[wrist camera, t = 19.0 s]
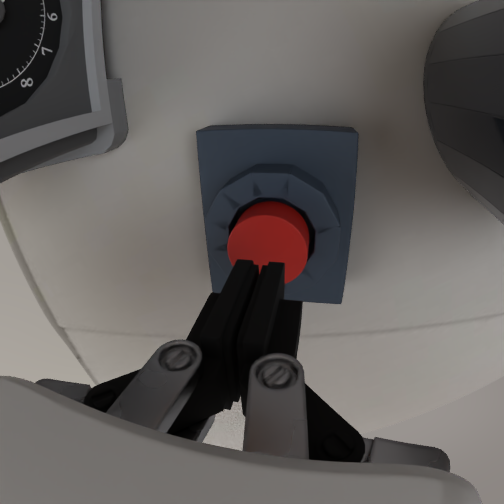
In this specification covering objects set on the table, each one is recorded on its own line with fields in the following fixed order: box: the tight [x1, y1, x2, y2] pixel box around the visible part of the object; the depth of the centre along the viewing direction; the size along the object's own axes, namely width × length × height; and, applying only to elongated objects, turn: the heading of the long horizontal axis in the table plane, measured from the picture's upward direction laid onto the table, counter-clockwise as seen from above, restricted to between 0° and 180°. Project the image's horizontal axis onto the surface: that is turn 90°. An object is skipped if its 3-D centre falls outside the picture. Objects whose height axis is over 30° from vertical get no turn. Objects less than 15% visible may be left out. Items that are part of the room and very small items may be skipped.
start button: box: [227, 201, 309, 284], centre depth 15 cm, size 4×4×2 cm
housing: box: [196, 124, 359, 304], centre depth 17 cm, size 10×8×4 cm
